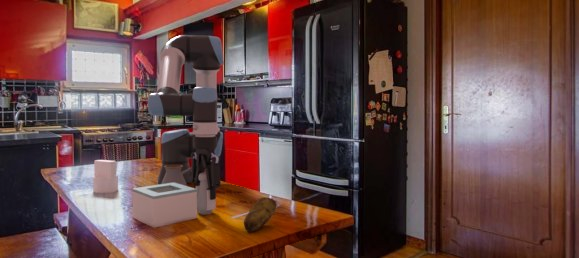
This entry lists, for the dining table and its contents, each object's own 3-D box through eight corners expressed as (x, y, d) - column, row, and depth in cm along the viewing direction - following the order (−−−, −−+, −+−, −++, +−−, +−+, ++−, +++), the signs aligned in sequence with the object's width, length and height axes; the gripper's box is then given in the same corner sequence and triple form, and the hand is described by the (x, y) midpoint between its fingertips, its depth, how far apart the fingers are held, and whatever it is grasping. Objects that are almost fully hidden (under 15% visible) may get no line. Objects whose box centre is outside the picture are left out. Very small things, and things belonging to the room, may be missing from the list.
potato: (232, 229, 111) (232, 201, 110) (265, 219, 120) (265, 193, 119) (251, 236, 105) (251, 206, 104) (285, 225, 114) (285, 198, 114)
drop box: (174, 209, 131) (174, 182, 130) (197, 218, 121) (196, 189, 120) (132, 217, 121) (132, 188, 120) (153, 227, 111) (153, 196, 111)
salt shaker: (210, 216, 123) (210, 175, 122) (193, 214, 124) (192, 174, 124) (217, 211, 129) (217, 171, 128) (201, 210, 130) (200, 171, 129)
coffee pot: (163, 207, 133) (163, 163, 132) (152, 200, 142) (152, 159, 142) (220, 198, 146) (220, 158, 145) (207, 192, 155) (206, 155, 154)
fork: (220, 220, 121) (220, 214, 121) (277, 205, 138) (277, 200, 138) (227, 222, 118) (227, 216, 118) (284, 207, 136) (284, 202, 136)
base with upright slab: (88, 191, 155) (87, 161, 154) (106, 187, 164) (105, 158, 163) (105, 193, 152) (104, 163, 151) (123, 189, 160) (122, 160, 159)
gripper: (179, 134, 129) (180, 203, 131) (211, 138, 116) (212, 215, 117) (199, 133, 134) (199, 200, 136) (232, 137, 121) (232, 211, 123)
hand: (205, 207), depth 127 cm, fingers closed on salt shaker, 6 cm apart
